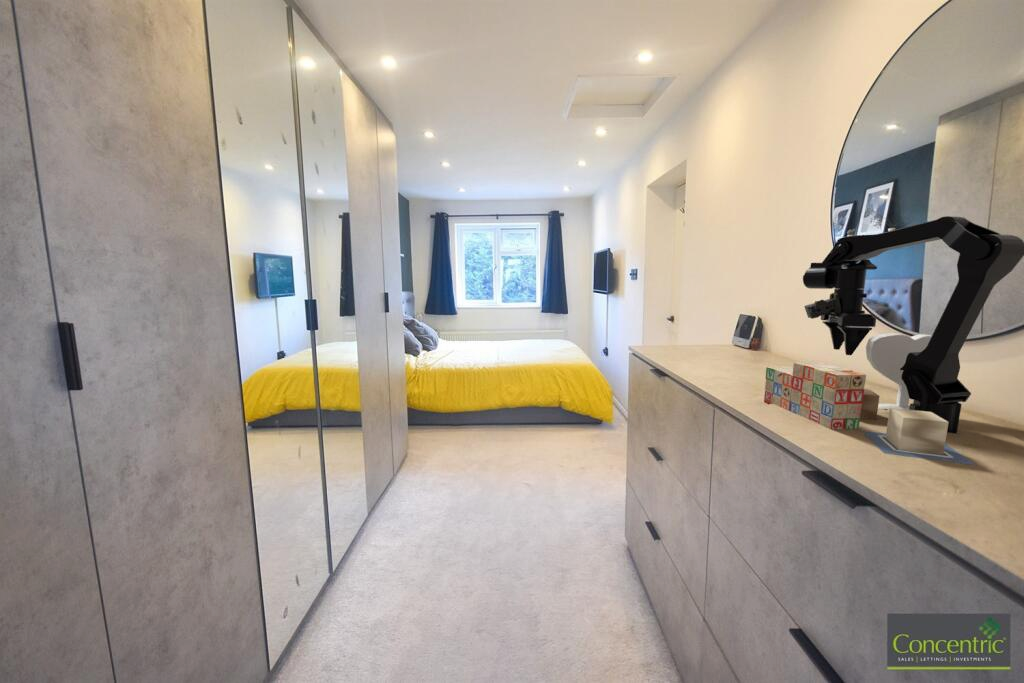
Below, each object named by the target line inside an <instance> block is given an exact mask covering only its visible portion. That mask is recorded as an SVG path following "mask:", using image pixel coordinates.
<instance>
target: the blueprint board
mask: <svg viewBox="0 0 1024 683" xmlns="http://www.w3.org/2000/svg"><path fill="white" fill-rule="evenodd" d="M860 432H861V433H862V434H863V435H865V437H866V438H868V439H869V440H870V441H871V442H872V443H873V444H874V446H876V447H877V448H878V449H879V450H880V451H881V452H882V453H883V454H886V455H887V454H888V455H895V456H903V457H910V458H919V459H924V460H926V459H927V460H934V461H941V462H946V463H947V462H948V463H955V464H962V465H963V464H964V465H970V466H977V464H976V463H974V462H973V461H971V460H970V459H968V458H967V457H966V456H965V455H963V454H962V453H960V452H958V451H957V450H955V449H954V448H953V447H951V446H949V445H948V444H946V443H945V447H944V454H943V455H938V454H930V453H922V452H915V451H907V450H899V449H898V448H897V447H895V446H894V445H893V444H892V443H891V442H890V441H888V440H887V439H886V432H885V433H884V432H874V431H867V430H860Z"/></svg>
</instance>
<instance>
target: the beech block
mask: <svg viewBox="0 0 1024 683" xmlns="http://www.w3.org/2000/svg"><path fill="white" fill-rule="evenodd" d="M888 411H889V412H888V419H887V425H886V430H885V431H886V432H885V434H886V439H887V440H888V441H890V442H891V443H892V444H893V445H894V446H895V447H897V448H898V449H899V450H907V451H915V452H922V453H930V454H938V455H943V454H944V447H945V444H946V440H947V434H948V433H947V429H948V421H946V420H944V419H942V418H941V417H939V416H937V415H936V414H934V413H932V412H926V411H916V410H906V409H895V408H890V409H889V410H888Z"/></svg>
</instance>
